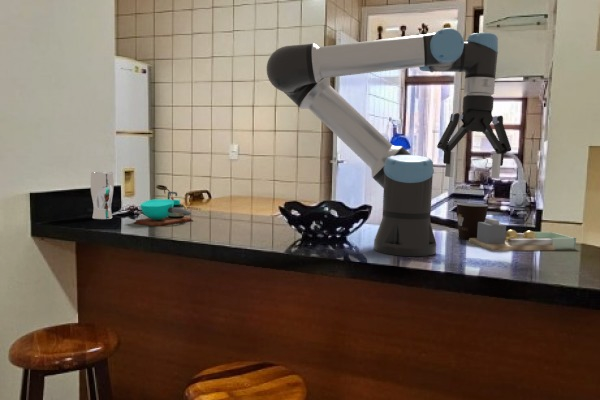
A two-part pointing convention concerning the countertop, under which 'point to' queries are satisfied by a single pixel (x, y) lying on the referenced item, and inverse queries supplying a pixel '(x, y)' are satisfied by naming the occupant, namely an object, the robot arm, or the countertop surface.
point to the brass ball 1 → (511, 234)
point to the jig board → (518, 244)
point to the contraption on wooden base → (164, 211)
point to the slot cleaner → (491, 232)
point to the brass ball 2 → (529, 235)
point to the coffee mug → (470, 219)
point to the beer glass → (102, 194)
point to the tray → (558, 240)
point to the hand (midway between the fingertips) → (472, 177)
